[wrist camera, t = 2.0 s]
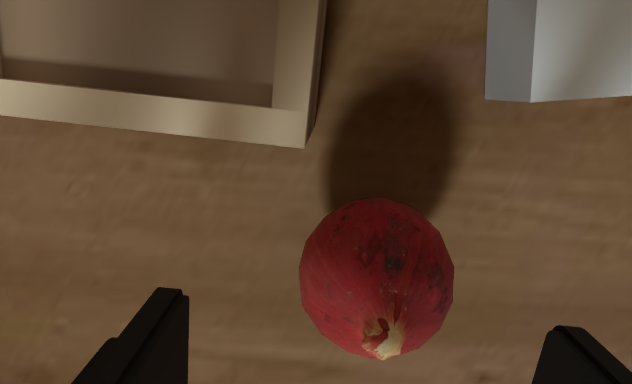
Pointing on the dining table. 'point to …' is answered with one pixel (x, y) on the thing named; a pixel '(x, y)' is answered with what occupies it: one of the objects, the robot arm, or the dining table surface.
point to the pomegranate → (376, 278)
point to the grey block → (558, 49)
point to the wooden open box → (166, 65)
